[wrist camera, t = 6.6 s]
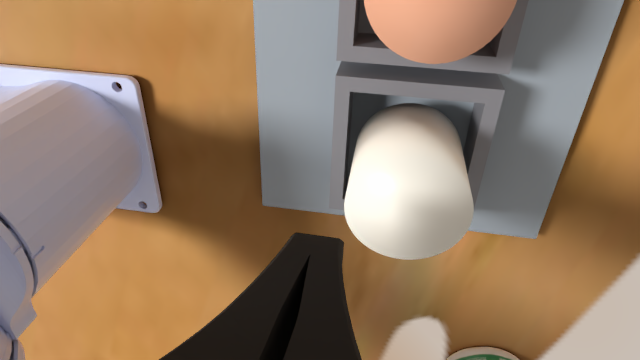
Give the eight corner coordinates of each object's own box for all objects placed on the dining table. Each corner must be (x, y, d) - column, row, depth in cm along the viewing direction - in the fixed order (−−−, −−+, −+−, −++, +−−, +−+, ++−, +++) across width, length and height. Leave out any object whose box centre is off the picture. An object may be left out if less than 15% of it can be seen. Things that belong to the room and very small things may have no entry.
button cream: (352, 188, 21) (340, 251, 17) (360, 98, 19) (348, 149, 15) (450, 199, 20) (459, 267, 17) (470, 108, 18) (487, 163, 14)
